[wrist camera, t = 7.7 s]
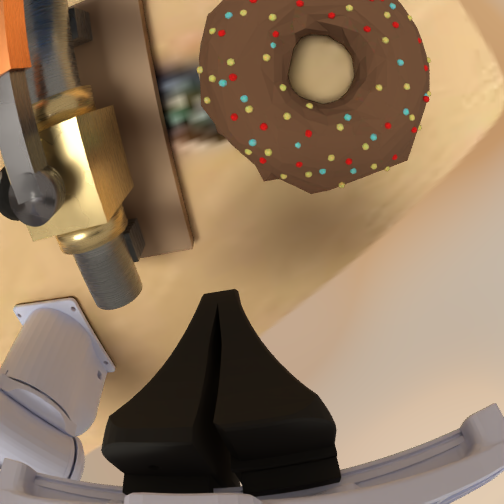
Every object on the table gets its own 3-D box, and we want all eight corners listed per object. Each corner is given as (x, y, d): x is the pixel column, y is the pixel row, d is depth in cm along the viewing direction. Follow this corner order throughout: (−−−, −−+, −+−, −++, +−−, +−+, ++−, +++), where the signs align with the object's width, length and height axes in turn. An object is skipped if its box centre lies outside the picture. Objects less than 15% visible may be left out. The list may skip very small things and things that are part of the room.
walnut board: (193, 240, 23) (192, 248, 22) (85, 260, 23) (79, 269, 22) (140, -13, 14) (135, -18, 12) (21, 37, 14) (12, 37, 13)
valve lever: (77, 203, 13) (59, 222, 11) (38, 214, 13) (18, 234, 11) (30, -21, 7) (7, -28, 5) (-9, 4, 7) (-34, 1, 5)
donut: (154, 75, 17) (132, 75, 13) (310, -57, 13) (333, -87, 8) (310, 216, 23) (330, 252, 19) (440, 97, 19) (485, 108, 14)
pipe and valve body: (162, 254, 22) (145, 315, 16) (104, 264, 22) (75, 323, 16) (100, -6, 13) (53, -32, 7) (37, 22, 13) (-23, 15, 7)
